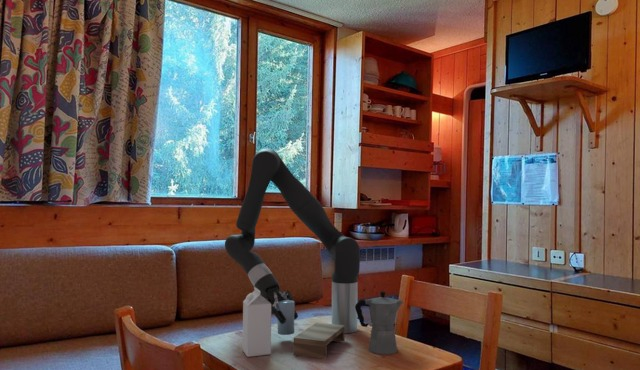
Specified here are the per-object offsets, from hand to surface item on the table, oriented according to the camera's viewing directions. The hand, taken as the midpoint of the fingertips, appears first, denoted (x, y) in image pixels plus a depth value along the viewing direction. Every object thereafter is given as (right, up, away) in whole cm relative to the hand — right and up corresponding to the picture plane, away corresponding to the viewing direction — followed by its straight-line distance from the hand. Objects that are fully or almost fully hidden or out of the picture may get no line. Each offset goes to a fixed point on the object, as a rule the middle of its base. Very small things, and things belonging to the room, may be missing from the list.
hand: (290, 320), depth 150 cm
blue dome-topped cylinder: (-1, -4, +1) cm, 5 cm away
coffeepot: (+28, -7, -8) cm, 30 cm away
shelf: (+10, -7, -6) cm, 13 cm away
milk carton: (-9, -7, -11) cm, 16 cm away
